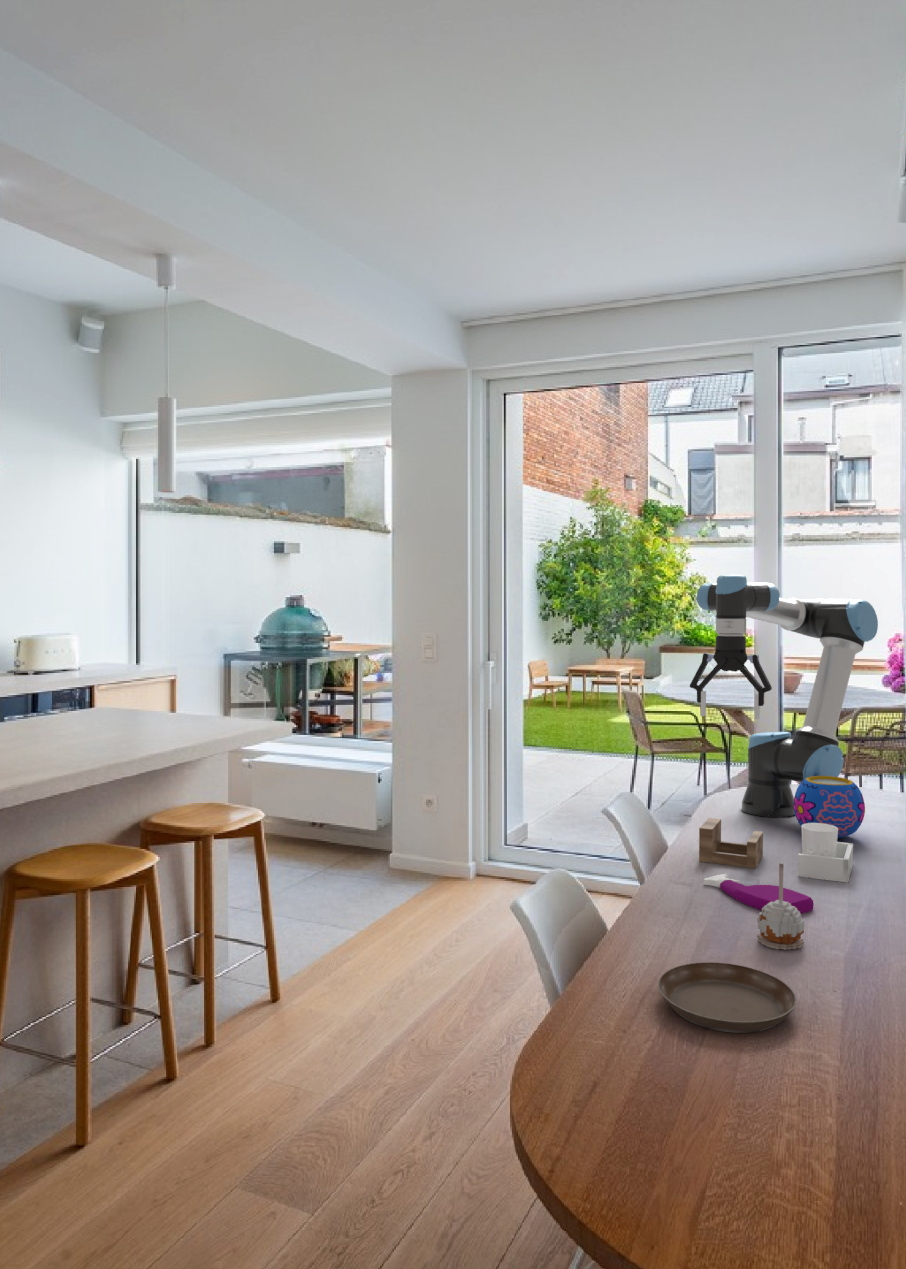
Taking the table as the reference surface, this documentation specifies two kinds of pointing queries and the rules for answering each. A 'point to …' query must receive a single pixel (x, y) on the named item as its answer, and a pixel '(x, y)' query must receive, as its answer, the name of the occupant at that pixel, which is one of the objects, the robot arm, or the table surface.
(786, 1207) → the table surface
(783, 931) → the candy apple
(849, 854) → the box
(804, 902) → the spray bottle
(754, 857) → the wooden cradle stand
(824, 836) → the white cup
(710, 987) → the plant saucer
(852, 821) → the ceramic pot
